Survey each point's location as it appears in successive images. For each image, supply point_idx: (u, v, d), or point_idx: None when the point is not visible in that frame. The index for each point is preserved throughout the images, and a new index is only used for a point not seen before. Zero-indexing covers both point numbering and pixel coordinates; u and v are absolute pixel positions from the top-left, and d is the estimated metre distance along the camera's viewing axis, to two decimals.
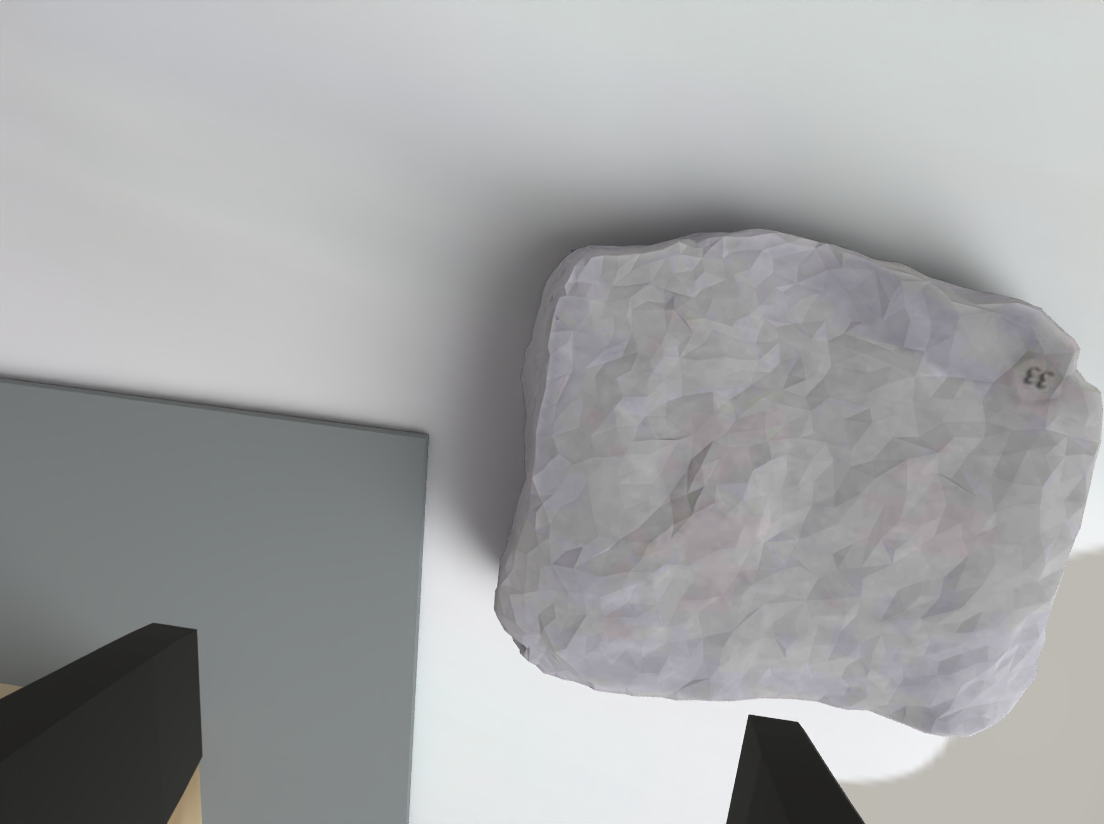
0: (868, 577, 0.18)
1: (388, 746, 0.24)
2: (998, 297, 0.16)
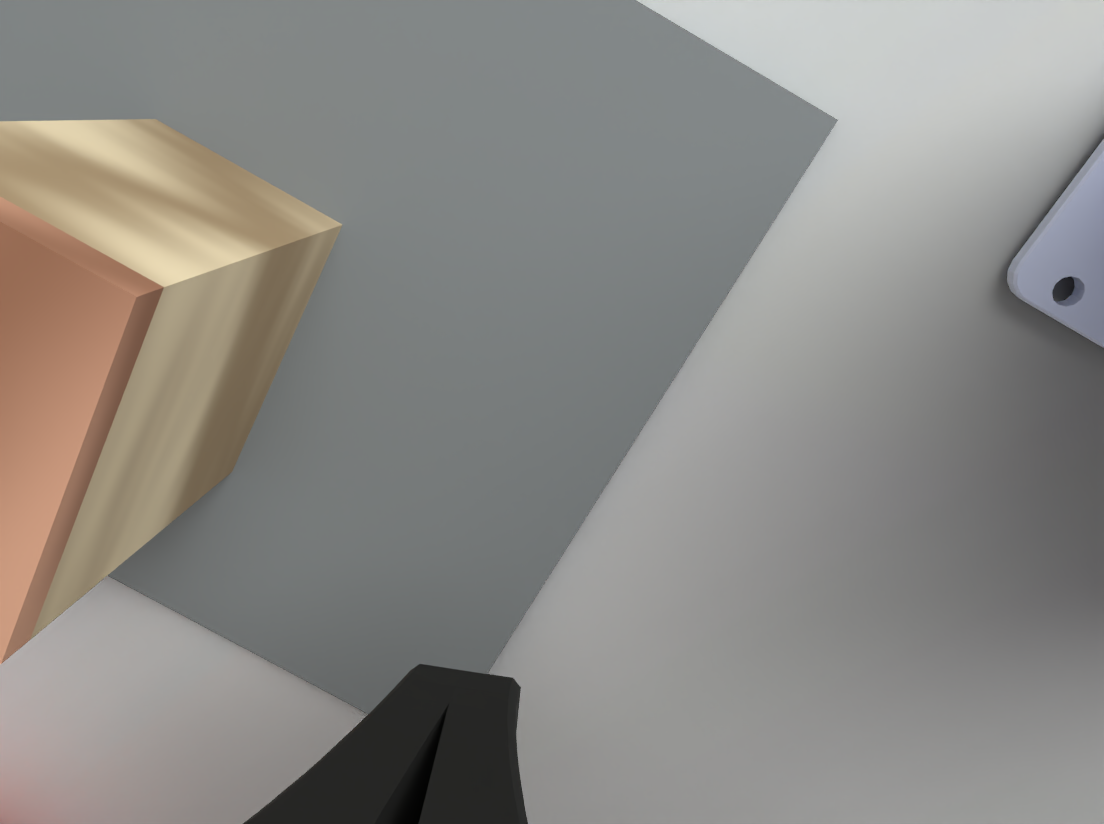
0: None
1: None
2: None
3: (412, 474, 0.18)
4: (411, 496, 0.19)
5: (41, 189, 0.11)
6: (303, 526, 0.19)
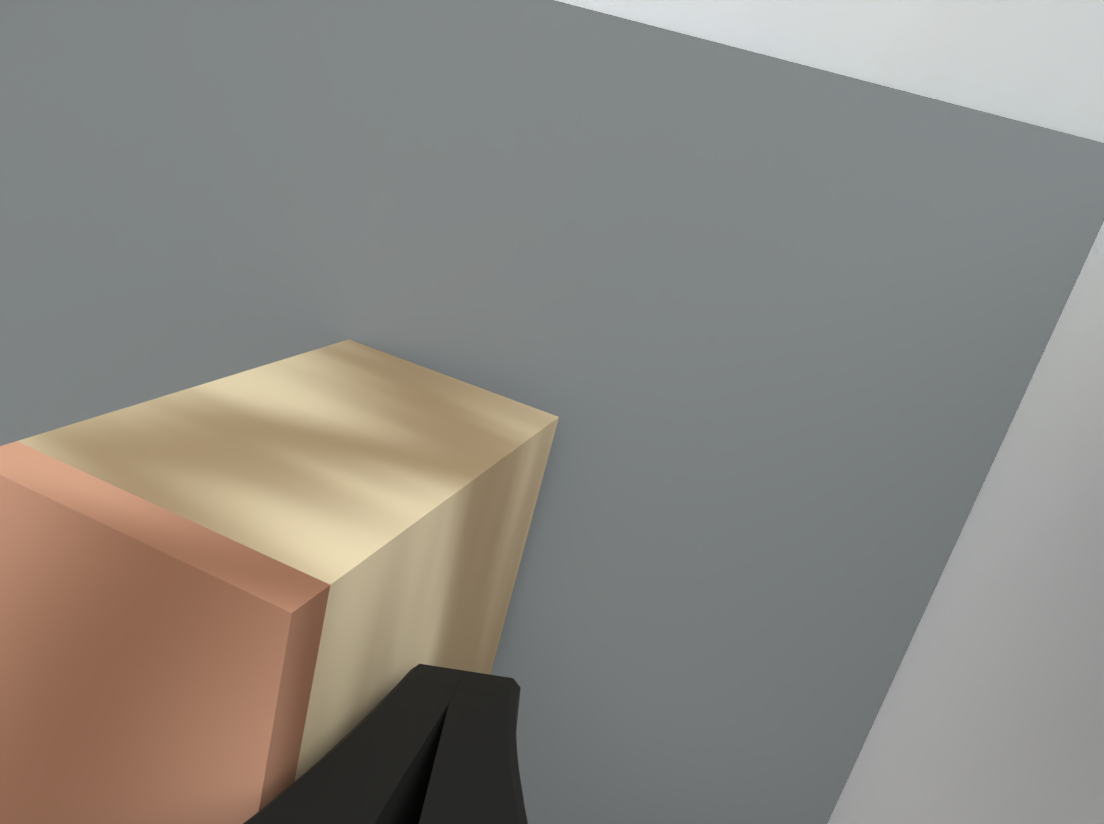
0: None
1: (407, 6, 0.13)
2: None
3: (697, 644, 0.16)
4: (700, 667, 0.17)
5: (199, 475, 0.10)
6: (584, 723, 0.17)
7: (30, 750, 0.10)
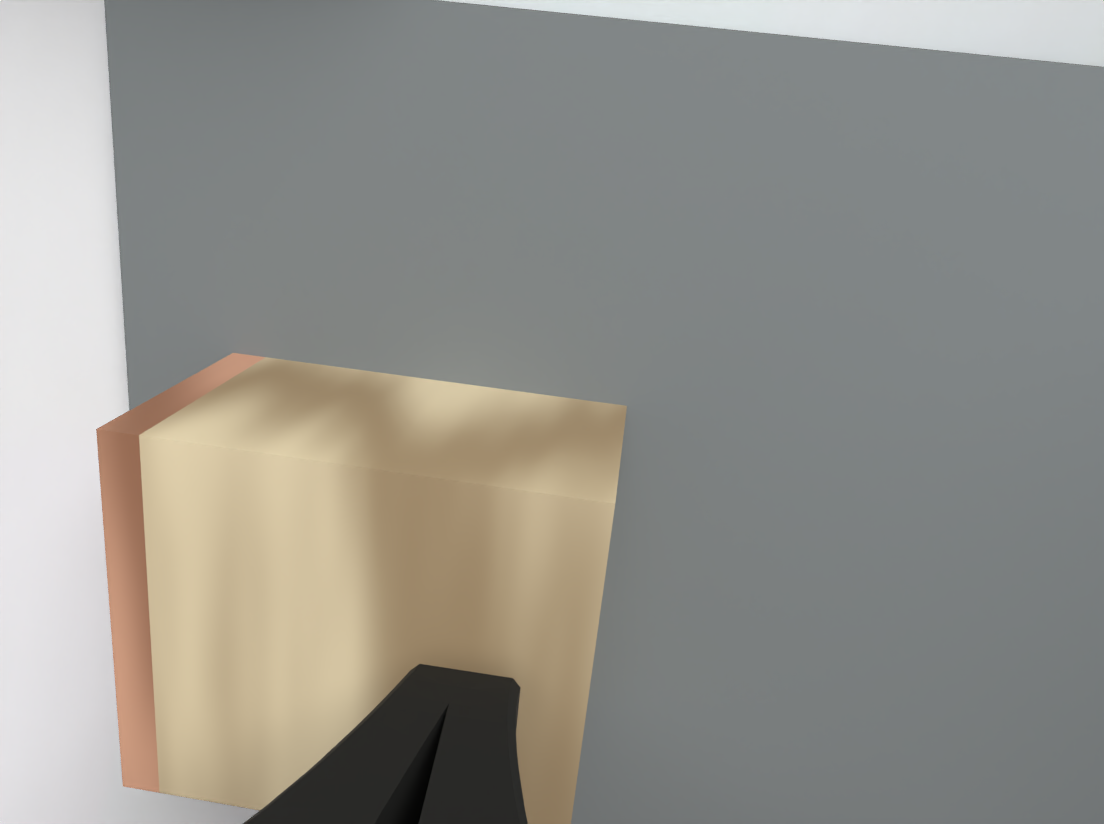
0: None
1: (674, 67, 0.13)
2: None
3: (1010, 669, 0.16)
4: (1014, 693, 0.16)
5: (267, 392, 0.14)
6: (891, 763, 0.17)
7: None
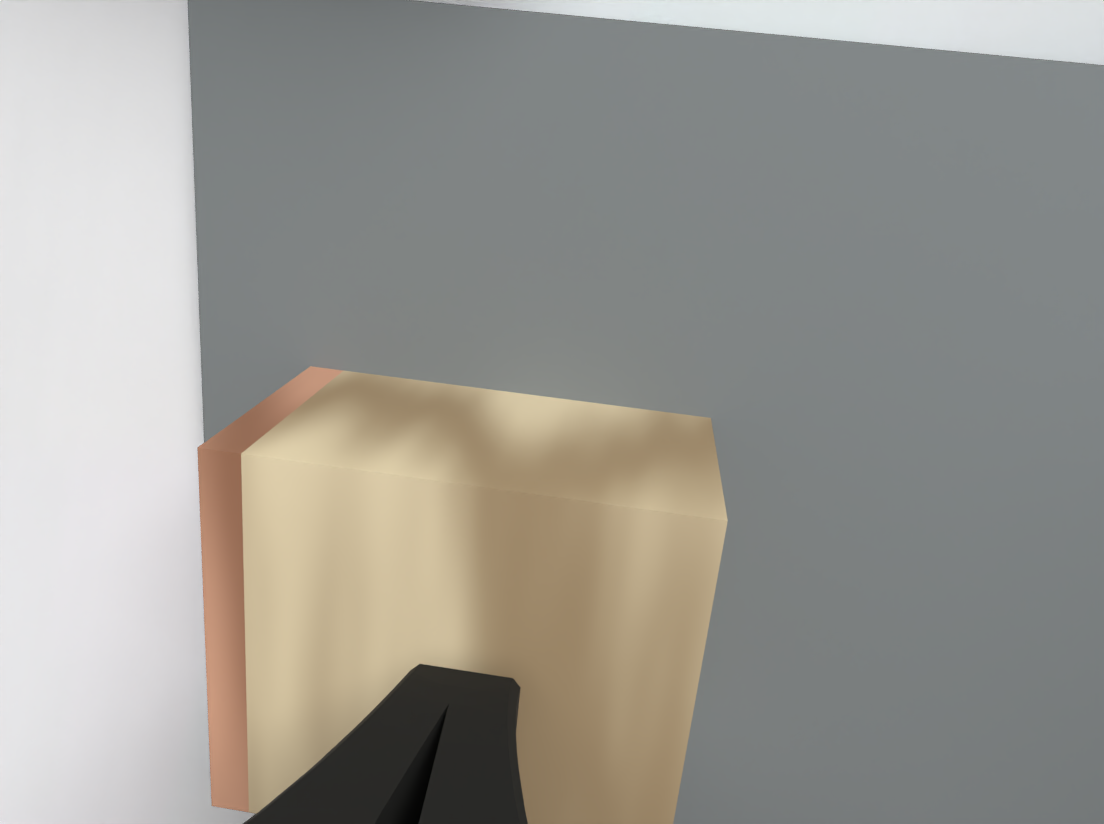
0: None
1: (768, 77, 0.13)
2: None
3: (1095, 681, 0.16)
4: (1099, 705, 0.16)
5: (355, 407, 0.14)
6: (971, 775, 0.17)
7: None
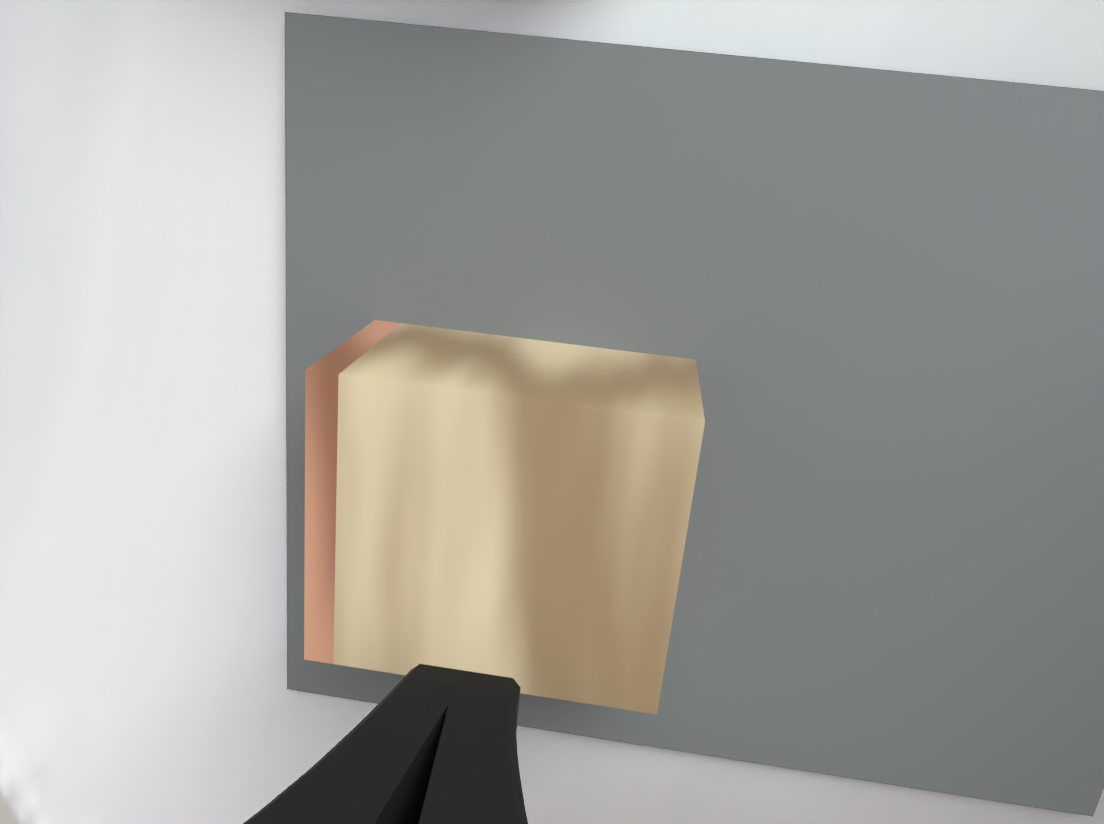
0: None
1: (738, 89, 0.17)
2: None
3: (1006, 574, 0.19)
4: (1009, 593, 0.20)
5: (416, 347, 0.17)
6: (909, 655, 0.20)
7: None
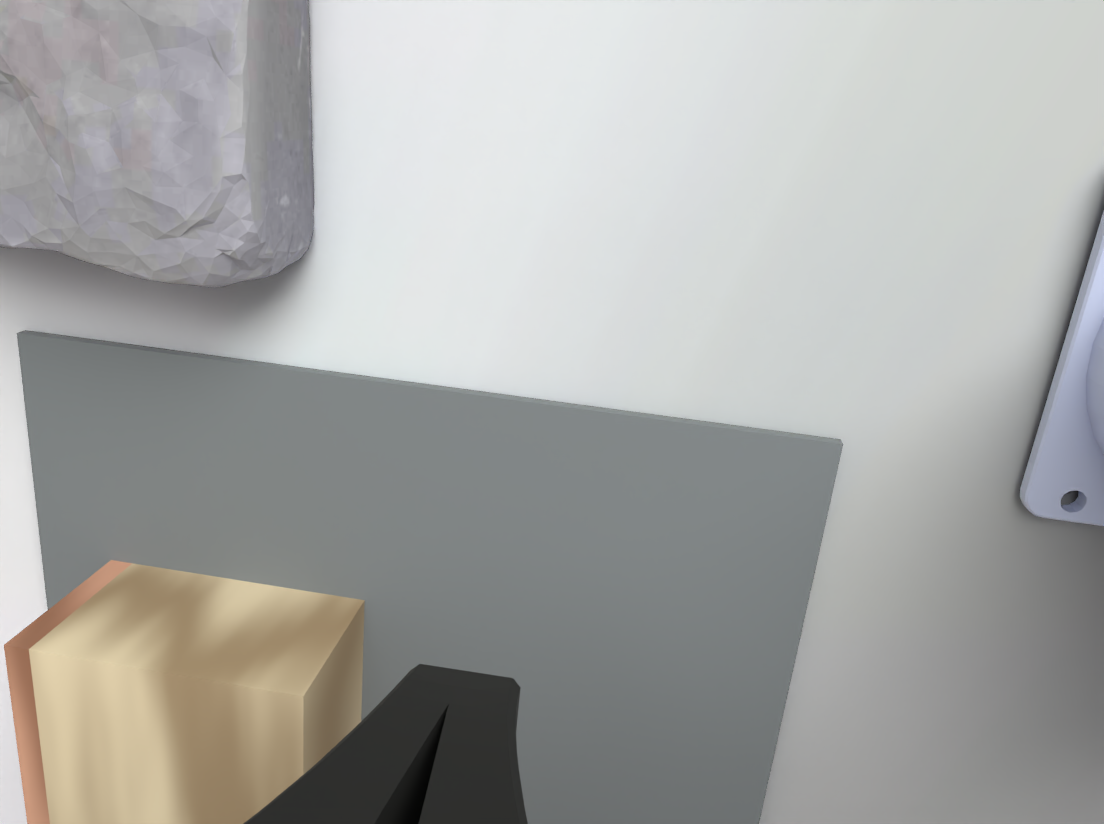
0: None
1: (370, 404, 0.21)
2: None
3: (629, 771, 0.23)
4: (635, 786, 0.24)
5: (122, 601, 0.22)
6: None
7: None
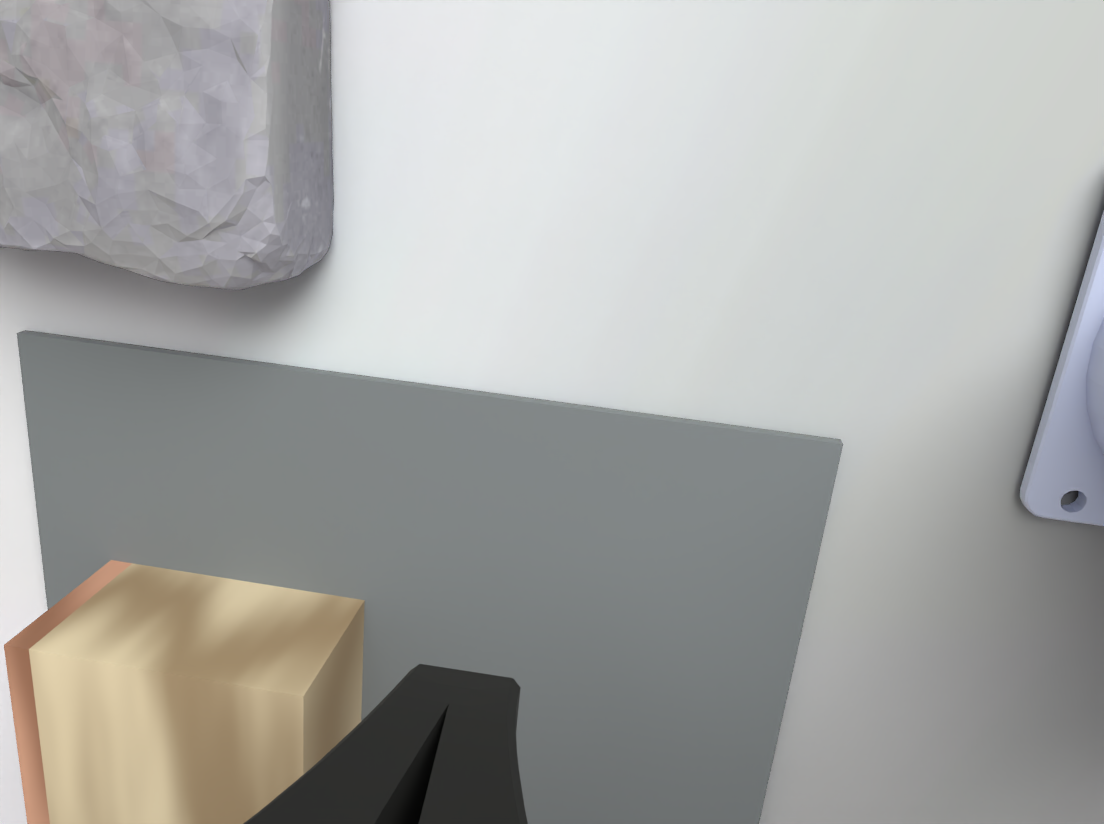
0: None
1: (370, 404, 0.21)
2: None
3: (629, 771, 0.23)
4: (635, 786, 0.24)
5: (122, 601, 0.22)
6: None
7: None
